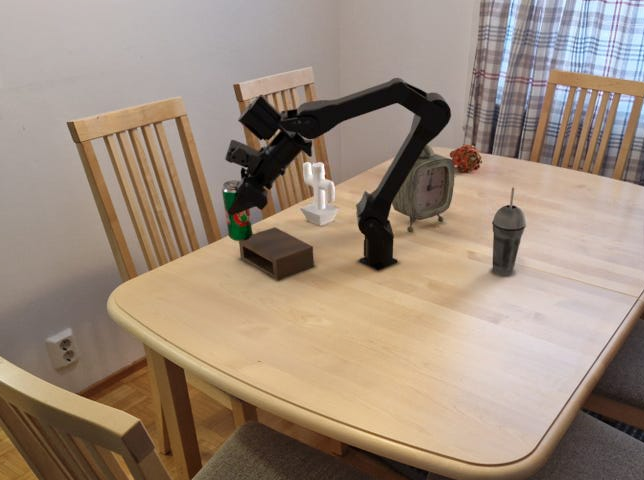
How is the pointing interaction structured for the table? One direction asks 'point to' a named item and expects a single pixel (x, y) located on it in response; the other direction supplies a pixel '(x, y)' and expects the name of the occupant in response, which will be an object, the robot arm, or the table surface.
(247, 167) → the robot arm
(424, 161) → the tabletop clock
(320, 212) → the figurine
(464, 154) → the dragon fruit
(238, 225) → the soda can
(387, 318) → the table surface
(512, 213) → the beverage cup
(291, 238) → the shelf
